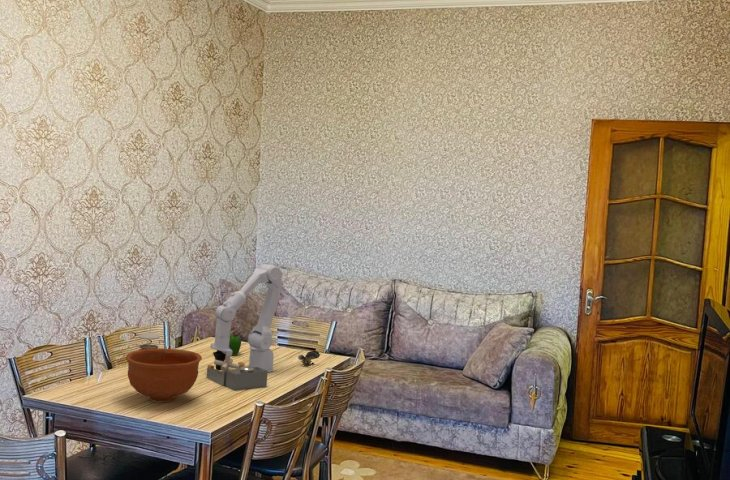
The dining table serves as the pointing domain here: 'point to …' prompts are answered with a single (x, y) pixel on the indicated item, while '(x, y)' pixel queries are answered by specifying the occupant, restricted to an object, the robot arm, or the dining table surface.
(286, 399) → the dining table surface
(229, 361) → the pipe connector
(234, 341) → the bell pepper
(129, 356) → the bowl
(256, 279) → the robot arm
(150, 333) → the french press
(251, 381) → the motor mount
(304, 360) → the eagle figurine
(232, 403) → the dining table surface
